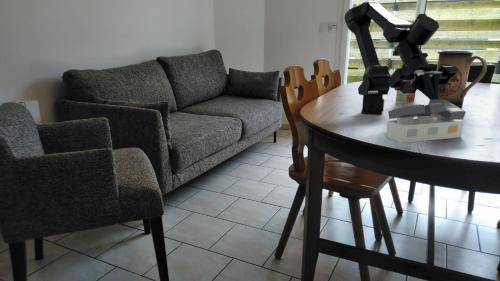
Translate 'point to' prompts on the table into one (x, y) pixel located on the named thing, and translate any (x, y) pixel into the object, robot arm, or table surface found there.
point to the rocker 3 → (449, 110)
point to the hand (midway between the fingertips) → (435, 101)
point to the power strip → (423, 128)
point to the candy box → (404, 96)
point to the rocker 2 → (433, 109)
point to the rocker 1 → (407, 111)
